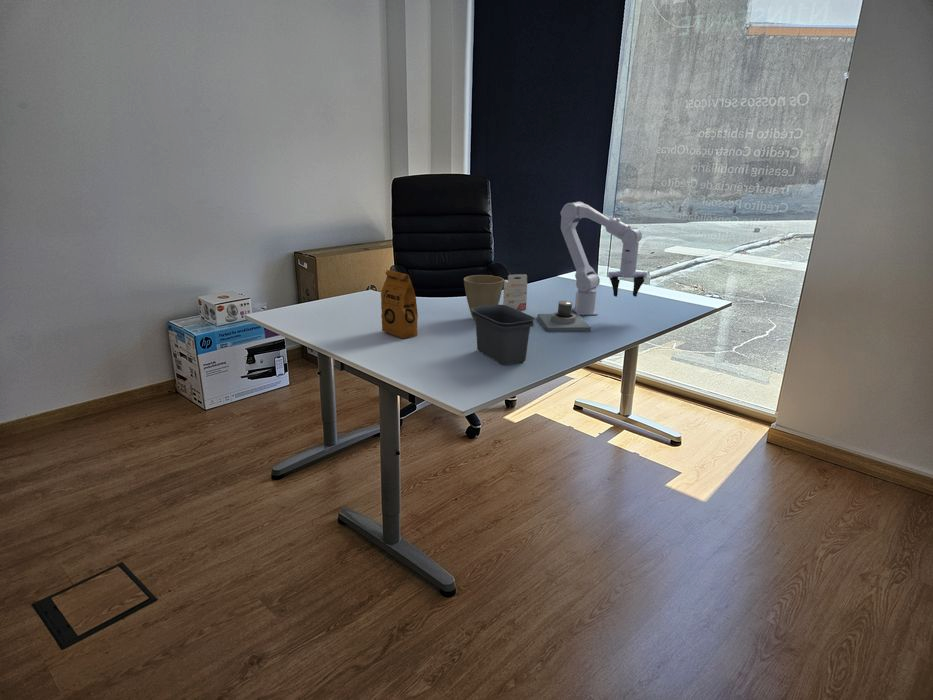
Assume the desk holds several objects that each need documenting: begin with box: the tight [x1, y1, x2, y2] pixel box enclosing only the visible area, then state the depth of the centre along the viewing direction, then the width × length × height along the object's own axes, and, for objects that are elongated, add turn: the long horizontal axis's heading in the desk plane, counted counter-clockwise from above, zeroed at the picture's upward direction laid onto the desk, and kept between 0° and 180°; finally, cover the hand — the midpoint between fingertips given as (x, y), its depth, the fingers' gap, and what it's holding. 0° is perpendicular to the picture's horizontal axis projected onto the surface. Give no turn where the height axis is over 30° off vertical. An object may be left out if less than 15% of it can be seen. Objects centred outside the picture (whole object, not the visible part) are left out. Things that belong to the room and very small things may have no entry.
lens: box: [557, 300, 573, 318], centre depth 224 cm, size 5×5×7 cm
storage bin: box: [471, 304, 536, 366], centre depth 189 cm, size 21×16×14 cm
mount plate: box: [537, 311, 592, 332], centre depth 226 cm, size 18×16×4 cm
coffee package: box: [380, 269, 419, 340], centre depth 207 cm, size 10×12×22 cm
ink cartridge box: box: [502, 273, 528, 311], centre depth 243 cm, size 9×5×15 cm, turn 105°
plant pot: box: [463, 274, 505, 322], centre depth 226 cm, size 15×15×16 cm
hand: (624, 296), depth 231 cm, fingers open, 7 cm apart
